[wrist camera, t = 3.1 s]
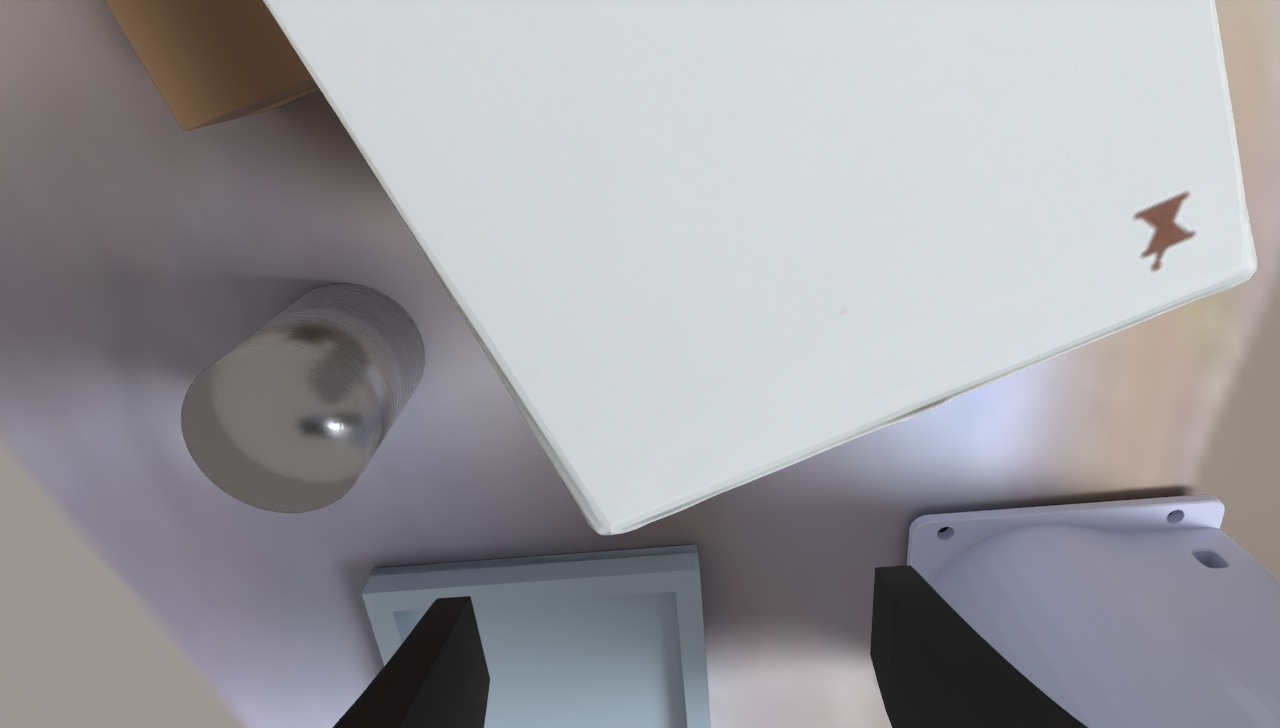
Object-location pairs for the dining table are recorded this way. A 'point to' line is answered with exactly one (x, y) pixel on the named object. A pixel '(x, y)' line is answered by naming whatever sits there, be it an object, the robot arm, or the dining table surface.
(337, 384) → the silver cylindrical canister
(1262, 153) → the dining table surface
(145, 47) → the walnut block
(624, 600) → the tray
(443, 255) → the supplement box
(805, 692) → the dining table surface
